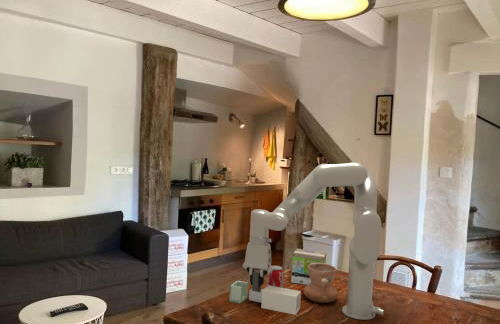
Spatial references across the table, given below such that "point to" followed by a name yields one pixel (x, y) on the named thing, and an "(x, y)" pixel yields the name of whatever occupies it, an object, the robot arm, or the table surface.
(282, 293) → the cream rectangular block
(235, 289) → the sage socket
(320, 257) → the tea box
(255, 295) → the grey u-shaped piece
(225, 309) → the table surface
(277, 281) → the soda can
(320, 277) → the ceramic jug
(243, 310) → the table surface
